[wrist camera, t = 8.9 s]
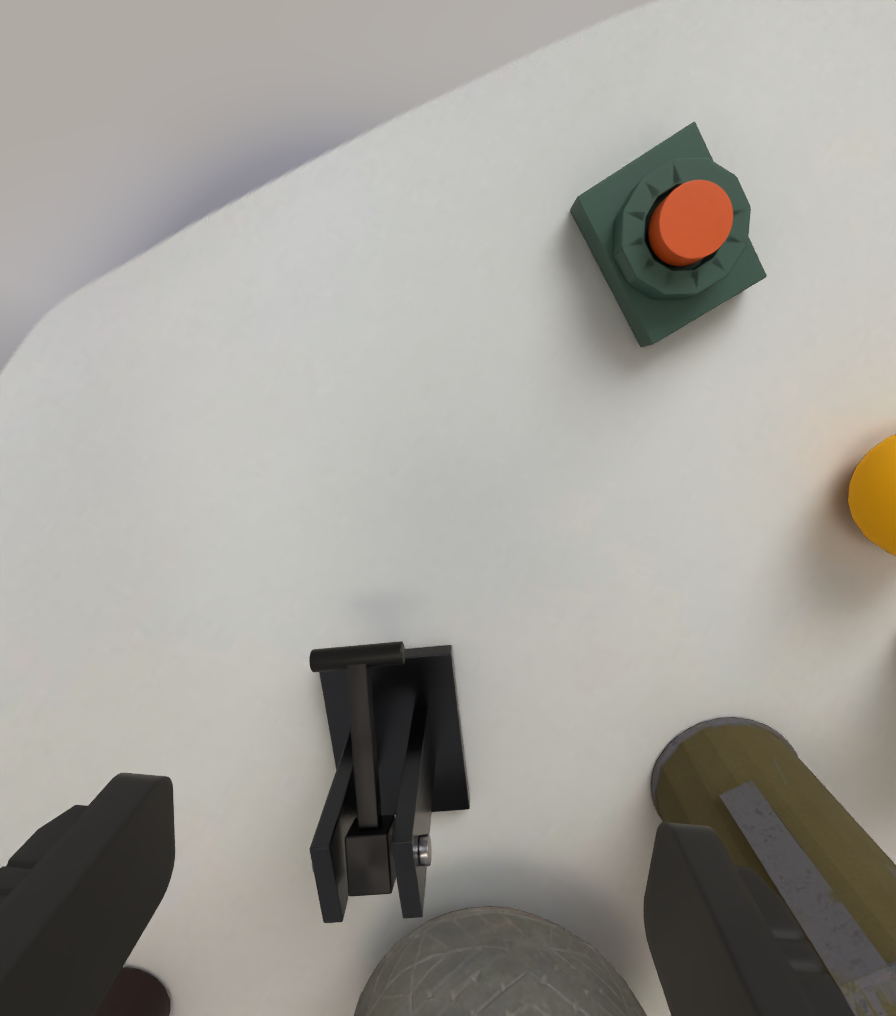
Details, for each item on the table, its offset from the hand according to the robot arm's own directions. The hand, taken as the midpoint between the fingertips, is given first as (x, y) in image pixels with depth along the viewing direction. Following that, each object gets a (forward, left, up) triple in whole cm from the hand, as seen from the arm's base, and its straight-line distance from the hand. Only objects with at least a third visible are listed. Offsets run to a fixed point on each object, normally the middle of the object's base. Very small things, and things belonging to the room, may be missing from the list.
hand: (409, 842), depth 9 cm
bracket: (+12, -12, -28) cm, 32 cm away
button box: (-7, +18, -28) cm, 34 cm away
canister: (+27, +6, -28) cm, 39 cm away
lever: (+8, -10, -19) cm, 23 cm away
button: (-7, +18, -24) cm, 31 cm away
